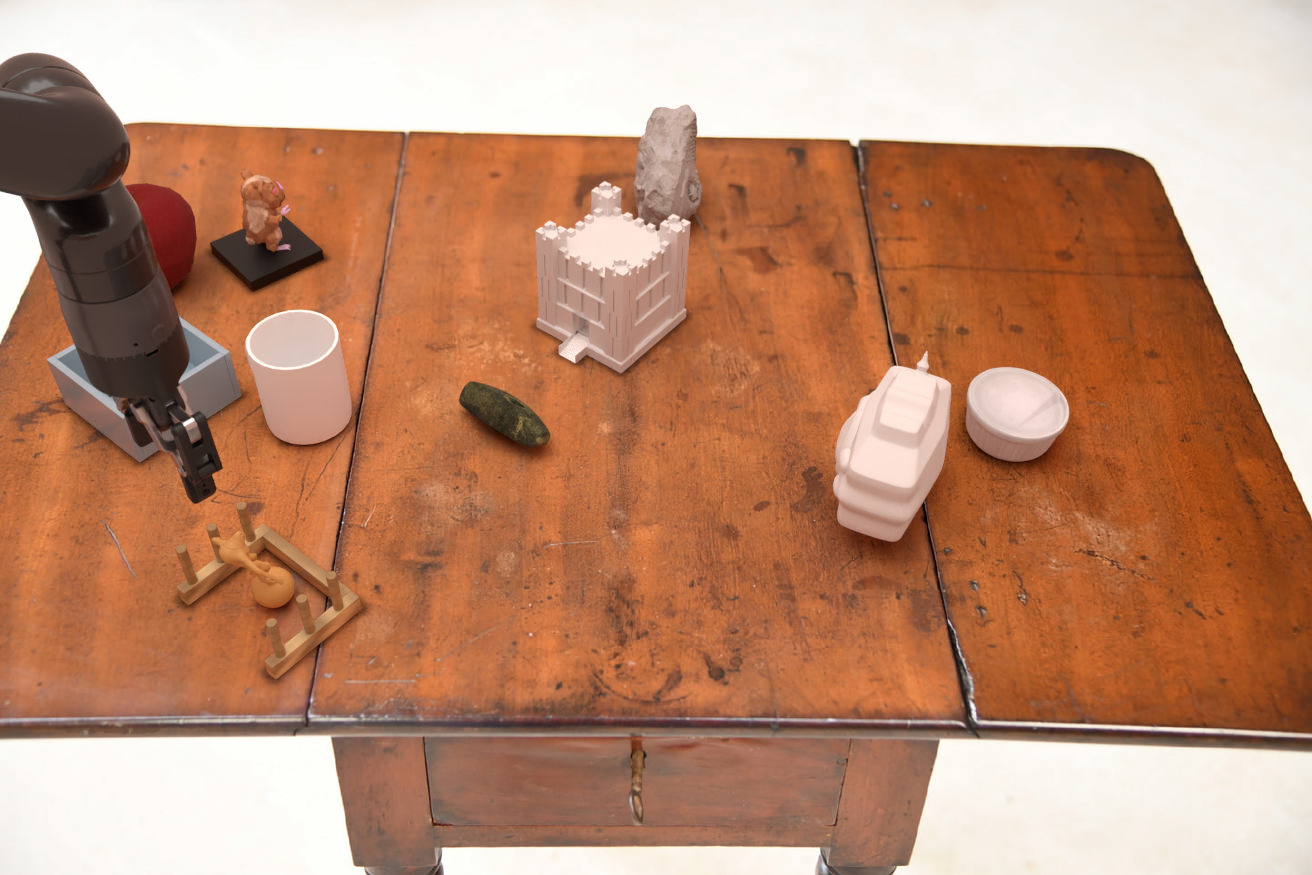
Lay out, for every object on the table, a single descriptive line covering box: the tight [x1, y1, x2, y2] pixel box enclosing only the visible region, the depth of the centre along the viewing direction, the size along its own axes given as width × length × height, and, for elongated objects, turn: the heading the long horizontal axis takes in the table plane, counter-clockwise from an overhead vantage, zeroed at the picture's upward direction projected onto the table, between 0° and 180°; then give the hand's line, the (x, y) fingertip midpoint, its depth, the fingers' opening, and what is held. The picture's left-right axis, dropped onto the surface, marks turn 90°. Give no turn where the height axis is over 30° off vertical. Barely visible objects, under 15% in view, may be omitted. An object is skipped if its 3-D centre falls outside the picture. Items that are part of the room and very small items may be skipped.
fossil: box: [633, 103, 703, 231], centre depth 165 cm, size 16×9×15 cm, turn 172°
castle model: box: [534, 180, 692, 374], centre depth 148 cm, size 13×15×14 cm
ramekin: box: [965, 366, 1070, 463], centre depth 141 cm, size 11×11×5 cm
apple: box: [124, 182, 198, 290], centre depth 151 cm, size 12×12×13 cm
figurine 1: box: [209, 167, 325, 292], centre depth 156 cm, size 10×10×12 cm
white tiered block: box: [832, 350, 952, 543], centre depth 130 cm, size 11×18×16 cm, turn 157°
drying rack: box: [174, 501, 363, 680], centre depth 121 cm, size 11×14×7 cm
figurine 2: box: [212, 530, 296, 609], centre depth 119 cm, size 8×6×12 cm
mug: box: [244, 309, 353, 446], centre depth 137 cm, size 10×12×12 cm
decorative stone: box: [458, 380, 551, 448], centre depth 139 cm, size 11×8×5 cm
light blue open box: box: [46, 316, 243, 463], centre depth 139 cm, size 14×14×7 cm
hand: (176, 468), depth 105 cm, fingers open, 8 cm apart
